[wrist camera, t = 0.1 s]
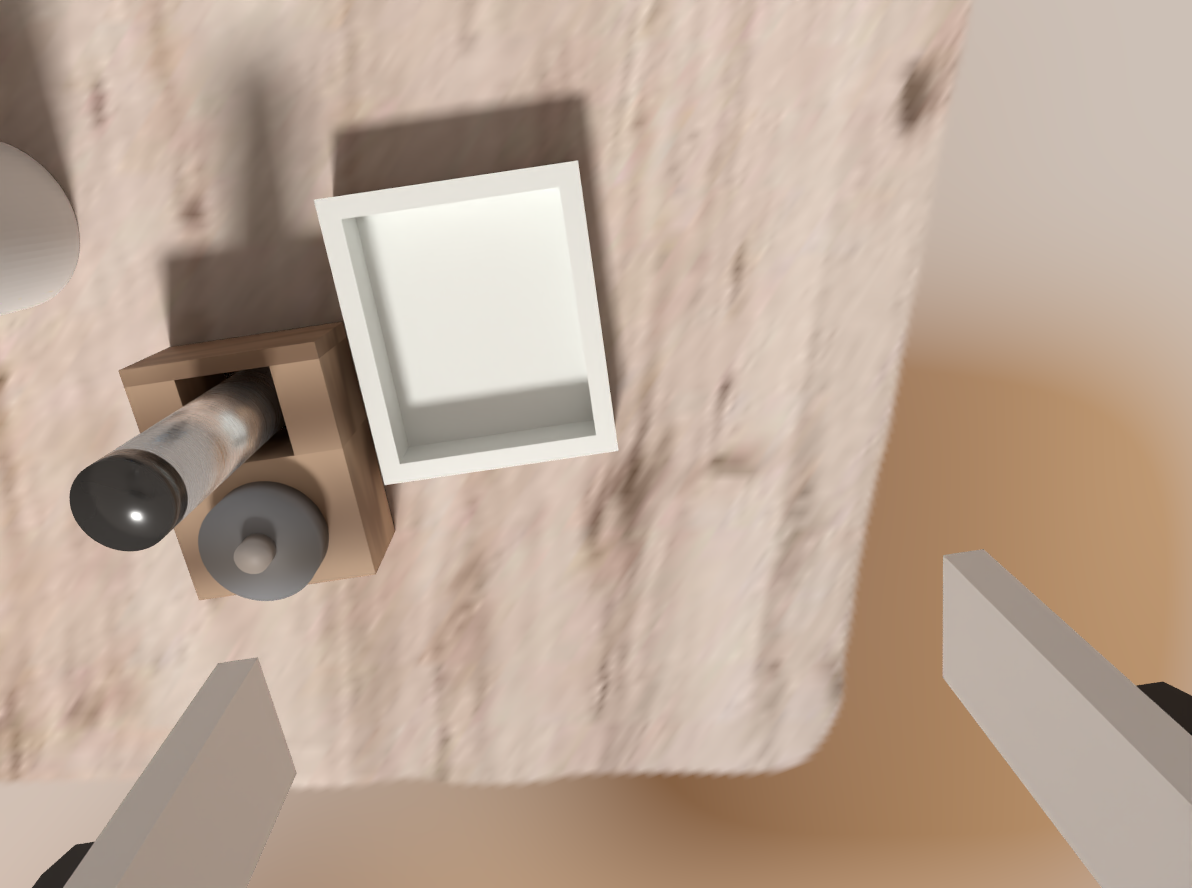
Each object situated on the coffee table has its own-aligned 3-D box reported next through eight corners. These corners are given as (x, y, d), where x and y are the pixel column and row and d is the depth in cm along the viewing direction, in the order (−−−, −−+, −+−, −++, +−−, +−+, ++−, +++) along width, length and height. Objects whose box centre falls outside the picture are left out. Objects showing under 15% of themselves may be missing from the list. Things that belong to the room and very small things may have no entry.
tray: (333, 197, 39) (313, 199, 36) (576, 161, 38) (577, 160, 35) (396, 463, 43) (384, 485, 40) (614, 430, 43) (618, 450, 40)
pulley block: (169, 347, 41) (85, 385, 33) (342, 321, 41) (296, 354, 33) (237, 554, 45) (175, 628, 37) (395, 531, 45) (363, 601, 37)
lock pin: (230, 363, 41) (54, 468, 27) (295, 354, 41) (154, 453, 27) (249, 425, 42) (89, 557, 28) (312, 416, 42) (185, 543, 28)
